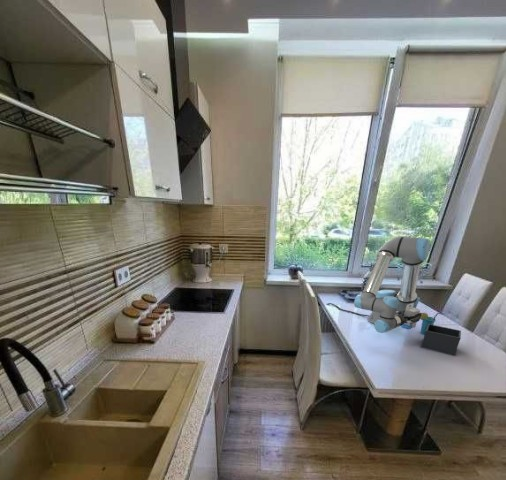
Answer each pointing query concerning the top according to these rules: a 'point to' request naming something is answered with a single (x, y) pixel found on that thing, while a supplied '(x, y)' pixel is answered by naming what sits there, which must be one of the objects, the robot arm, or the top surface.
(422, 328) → the cup
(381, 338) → the top surface
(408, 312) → the ink box
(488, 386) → the top surface
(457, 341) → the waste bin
